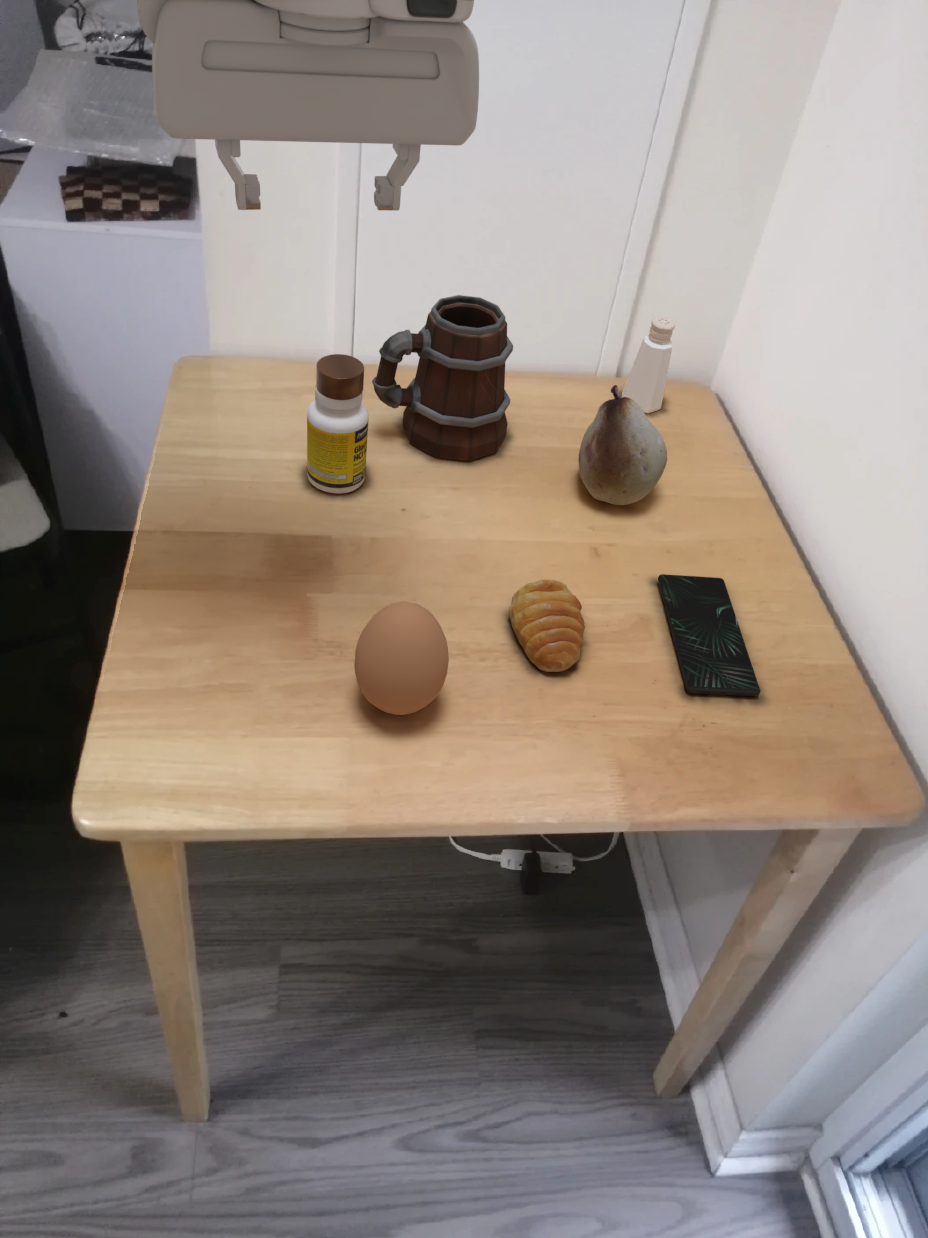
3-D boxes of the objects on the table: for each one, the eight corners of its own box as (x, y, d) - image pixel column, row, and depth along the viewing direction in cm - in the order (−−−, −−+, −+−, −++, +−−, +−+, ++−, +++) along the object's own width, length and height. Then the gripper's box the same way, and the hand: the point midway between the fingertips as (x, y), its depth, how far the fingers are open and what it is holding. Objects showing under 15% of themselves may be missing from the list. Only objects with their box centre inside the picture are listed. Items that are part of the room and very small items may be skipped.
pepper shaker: (613, 391, 120) (634, 310, 112) (652, 389, 121) (675, 310, 114) (628, 414, 116) (651, 333, 109) (668, 413, 118) (693, 332, 110)
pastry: (593, 676, 84) (602, 647, 81) (519, 678, 83) (526, 649, 80) (571, 603, 91) (579, 574, 88) (503, 604, 90) (509, 574, 87)
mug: (484, 401, 115) (502, 283, 104) (516, 458, 107) (539, 338, 96) (359, 408, 110) (364, 287, 100) (382, 469, 102) (390, 344, 92)
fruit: (580, 455, 109) (602, 362, 100) (659, 475, 108) (689, 383, 99) (563, 505, 102) (586, 410, 93) (648, 528, 100) (679, 433, 92)
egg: (342, 726, 77) (345, 634, 69) (364, 660, 82) (370, 568, 75) (432, 745, 77) (446, 655, 69) (449, 678, 82) (463, 587, 74)
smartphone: (688, 688, 83) (658, 572, 94) (685, 696, 84) (655, 580, 94) (762, 692, 84) (724, 576, 94) (758, 699, 85) (721, 584, 95)
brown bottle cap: (320, 401, 90) (321, 379, 89) (312, 376, 93) (312, 354, 92) (367, 399, 92) (368, 377, 90) (358, 374, 95) (358, 352, 93)
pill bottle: (362, 498, 98) (367, 407, 91) (303, 492, 98) (303, 400, 90) (367, 464, 103) (372, 374, 95) (311, 458, 102) (311, 367, 95)
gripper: (133, -37, 49) (162, 226, 59) (501, -10, 55) (472, 226, 65) (128, -63, 53) (156, 187, 63) (471, -36, 59) (448, 189, 69)
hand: (318, 207), depth 64 cm, fingers open, 8 cm apart
